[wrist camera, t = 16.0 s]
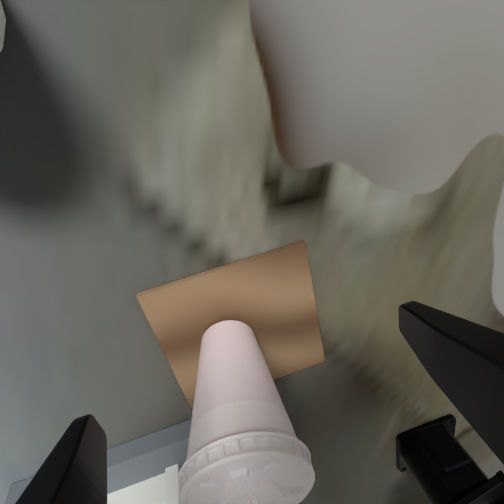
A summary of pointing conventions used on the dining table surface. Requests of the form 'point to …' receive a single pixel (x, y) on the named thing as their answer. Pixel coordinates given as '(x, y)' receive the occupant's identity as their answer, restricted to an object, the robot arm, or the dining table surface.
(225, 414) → the smoothie
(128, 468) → the white open box
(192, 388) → the coaster
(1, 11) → the shot glass
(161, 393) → the dining table surface
